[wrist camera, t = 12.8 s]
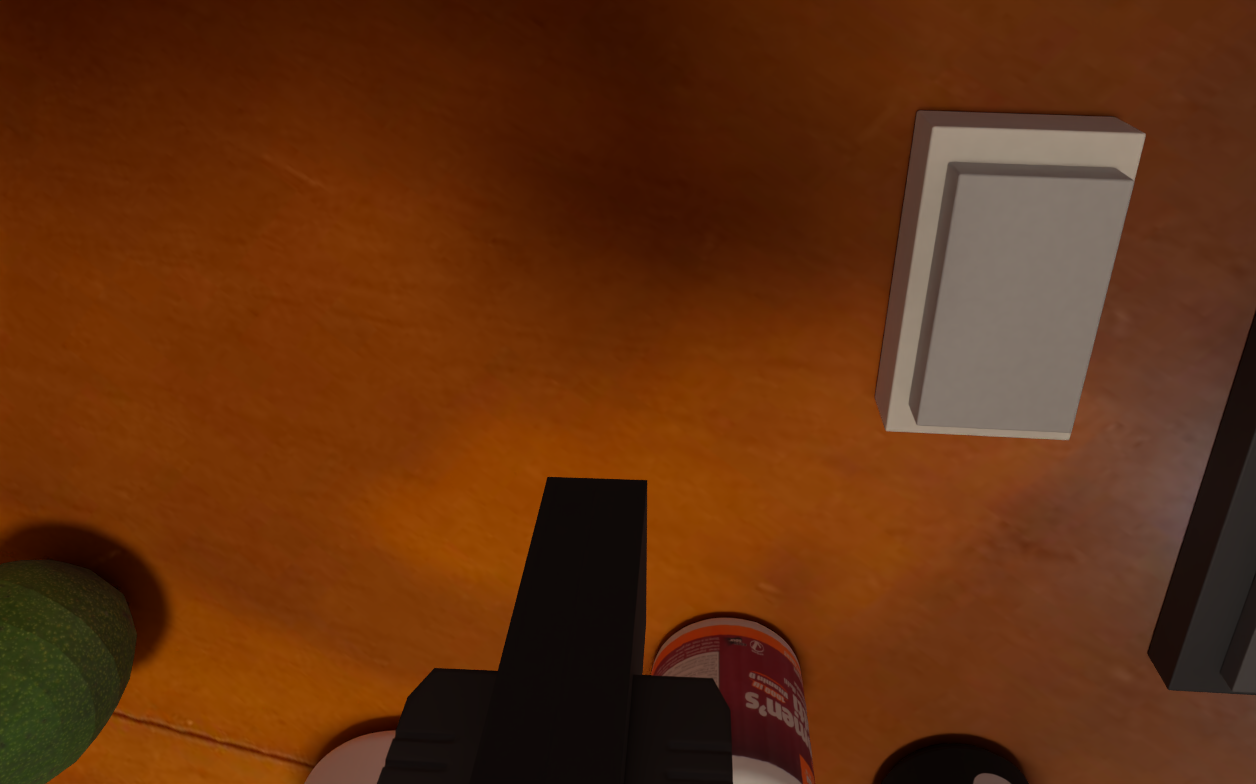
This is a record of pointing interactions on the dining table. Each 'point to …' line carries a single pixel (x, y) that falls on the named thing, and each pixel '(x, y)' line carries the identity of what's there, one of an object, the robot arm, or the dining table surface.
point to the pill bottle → (749, 695)
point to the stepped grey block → (1002, 270)
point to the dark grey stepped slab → (1217, 563)
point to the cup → (354, 761)
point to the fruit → (57, 665)
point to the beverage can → (954, 767)
